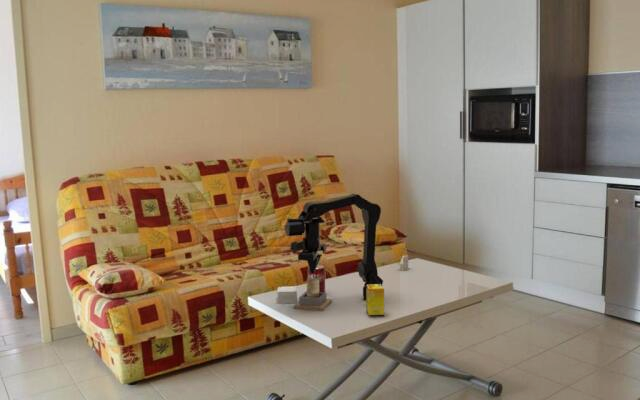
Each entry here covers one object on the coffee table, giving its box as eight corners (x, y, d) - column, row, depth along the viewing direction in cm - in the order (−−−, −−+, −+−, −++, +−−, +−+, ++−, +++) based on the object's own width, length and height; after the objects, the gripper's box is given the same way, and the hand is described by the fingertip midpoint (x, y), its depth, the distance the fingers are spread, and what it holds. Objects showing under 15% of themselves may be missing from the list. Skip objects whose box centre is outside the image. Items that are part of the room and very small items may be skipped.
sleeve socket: (331, 301, 241) (331, 291, 240) (323, 310, 230) (323, 300, 229) (303, 299, 244) (303, 289, 244) (293, 308, 233) (293, 298, 232)
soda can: (323, 297, 248) (323, 269, 246) (306, 296, 249) (306, 268, 248) (326, 292, 255) (326, 264, 253) (310, 291, 256) (309, 264, 255)
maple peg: (320, 300, 238) (320, 278, 237) (317, 304, 234) (317, 282, 233) (308, 299, 240) (308, 278, 239) (305, 303, 235) (305, 281, 234)
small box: (296, 303, 240) (296, 291, 239) (277, 304, 240) (277, 291, 239) (296, 298, 248) (296, 286, 247) (277, 298, 247) (277, 286, 247)
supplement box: (365, 312, 228) (365, 284, 226) (381, 311, 228) (381, 283, 227) (368, 317, 222) (368, 288, 220) (384, 316, 222) (384, 288, 221)
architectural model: (396, 271, 291) (396, 256, 290) (402, 268, 297) (403, 253, 296) (403, 272, 289) (403, 257, 288) (409, 269, 295) (409, 254, 294)
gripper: (300, 229, 244) (300, 266, 246) (284, 237, 227) (285, 277, 229) (326, 230, 241) (326, 268, 243) (312, 239, 224) (313, 279, 226)
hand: (312, 273), depth 235 cm, fingers closed
